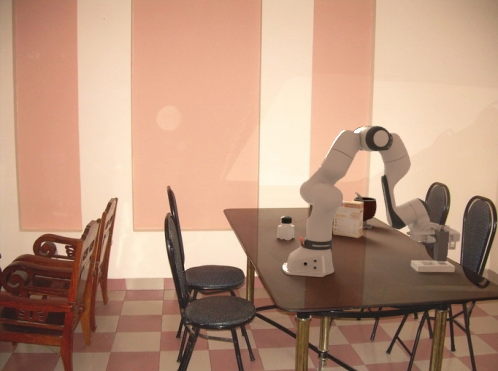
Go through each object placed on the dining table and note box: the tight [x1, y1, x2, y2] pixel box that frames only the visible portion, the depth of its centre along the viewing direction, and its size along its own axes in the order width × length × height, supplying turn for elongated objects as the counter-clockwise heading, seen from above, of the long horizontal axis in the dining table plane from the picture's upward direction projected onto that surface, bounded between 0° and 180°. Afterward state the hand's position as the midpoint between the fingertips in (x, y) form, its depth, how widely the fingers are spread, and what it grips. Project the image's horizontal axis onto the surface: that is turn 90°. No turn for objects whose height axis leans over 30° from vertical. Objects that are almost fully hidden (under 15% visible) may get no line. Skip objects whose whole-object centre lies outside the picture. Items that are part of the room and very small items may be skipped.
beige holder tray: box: [410, 260, 456, 273], centre depth 210 cm, size 16×8×4 cm, turn 92°
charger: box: [432, 224, 449, 262], centre depth 197 cm, size 4×5×14 cm
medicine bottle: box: [276, 215, 296, 241], centre depth 263 cm, size 7×7×12 cm
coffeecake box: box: [332, 199, 364, 239], centre depth 272 cm, size 15×7×20 cm, turn 59°
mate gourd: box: [353, 191, 378, 229], centre depth 295 cm, size 16×14×20 cm
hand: (442, 240), depth 196 cm, fingers closed on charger, 4 cm apart
